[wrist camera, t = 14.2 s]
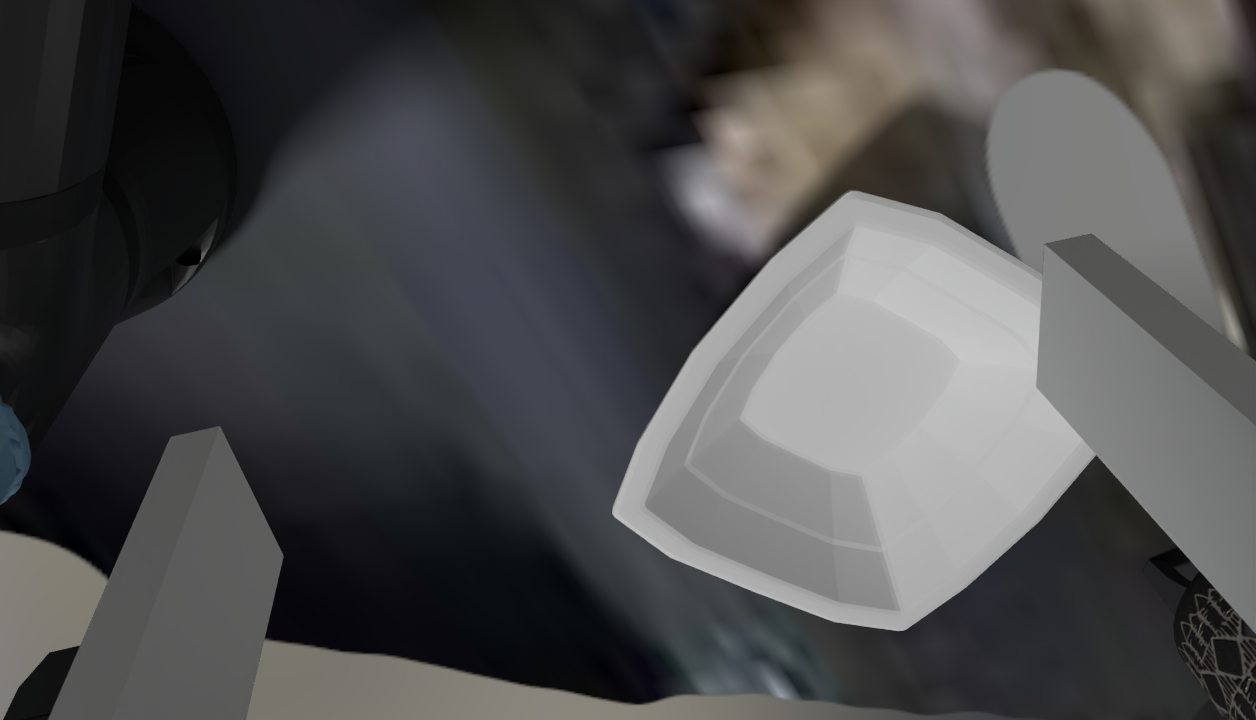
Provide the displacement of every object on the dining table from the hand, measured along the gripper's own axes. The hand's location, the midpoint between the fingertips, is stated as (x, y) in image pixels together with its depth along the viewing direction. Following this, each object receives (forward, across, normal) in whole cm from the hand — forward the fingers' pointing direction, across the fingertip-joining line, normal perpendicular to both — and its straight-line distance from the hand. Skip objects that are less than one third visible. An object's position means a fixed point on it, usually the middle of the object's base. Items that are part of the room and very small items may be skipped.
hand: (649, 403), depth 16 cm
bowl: (+32, +12, -24) cm, 41 cm away
